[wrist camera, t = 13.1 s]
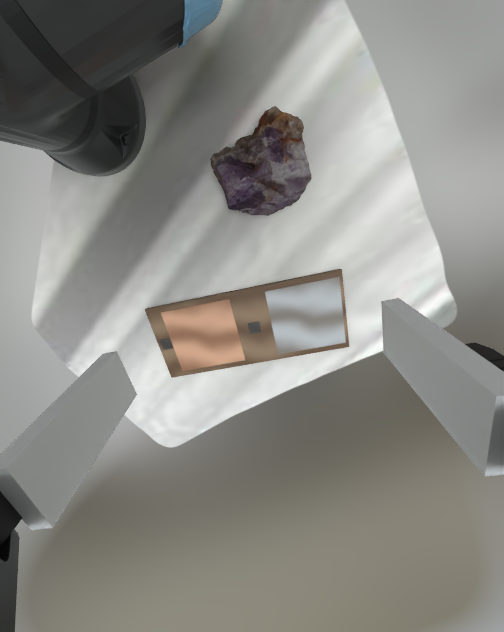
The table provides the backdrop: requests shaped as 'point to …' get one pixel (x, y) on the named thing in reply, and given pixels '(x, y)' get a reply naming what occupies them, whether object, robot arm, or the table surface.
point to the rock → (265, 166)
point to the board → (252, 324)
